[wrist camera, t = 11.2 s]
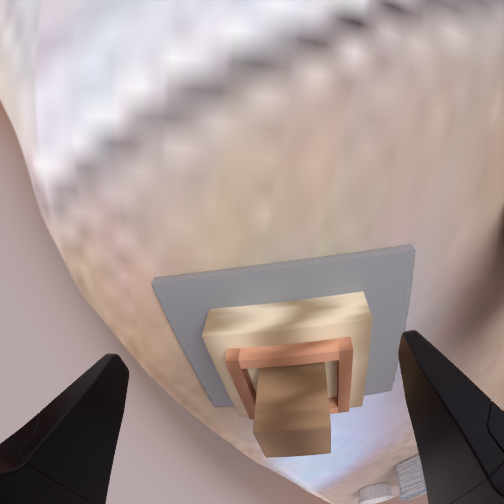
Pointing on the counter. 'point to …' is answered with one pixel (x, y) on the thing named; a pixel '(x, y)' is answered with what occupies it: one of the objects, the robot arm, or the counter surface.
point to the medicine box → (411, 478)
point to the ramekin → (375, 493)
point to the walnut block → (293, 411)
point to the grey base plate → (290, 289)
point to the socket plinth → (292, 345)
